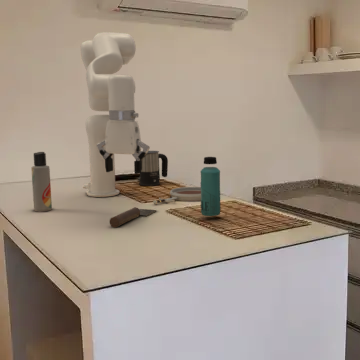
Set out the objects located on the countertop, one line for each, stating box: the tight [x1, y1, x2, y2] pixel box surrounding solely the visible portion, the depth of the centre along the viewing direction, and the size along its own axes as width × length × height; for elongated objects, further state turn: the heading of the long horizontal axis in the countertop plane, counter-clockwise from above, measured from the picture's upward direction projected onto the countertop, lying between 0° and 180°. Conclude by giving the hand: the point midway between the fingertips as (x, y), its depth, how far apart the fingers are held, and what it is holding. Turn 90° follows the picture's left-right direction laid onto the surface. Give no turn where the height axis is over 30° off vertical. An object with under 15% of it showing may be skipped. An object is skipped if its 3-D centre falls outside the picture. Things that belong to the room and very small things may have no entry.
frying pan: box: [152, 186, 201, 206], centre depth 189 cm, size 17×3×28 cm
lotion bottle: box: [31, 151, 53, 213], centre depth 168 cm, size 6×6×20 cm
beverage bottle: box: [199, 156, 222, 217], centre depth 157 cm, size 6×7×20 cm
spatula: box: [109, 207, 157, 228], centre depth 158 cm, size 23×6×3 cm, turn 165°
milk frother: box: [137, 150, 169, 187], centre depth 224 cm, size 14×16×15 cm
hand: (123, 172), depth 152 cm, fingers open, 9 cm apart
